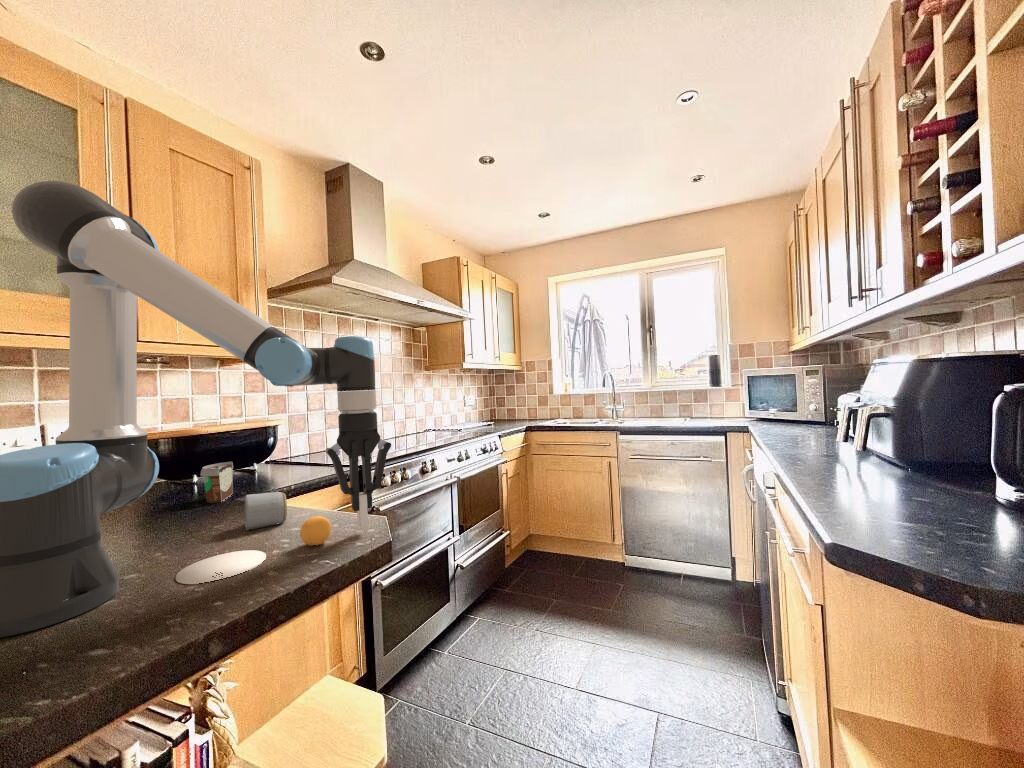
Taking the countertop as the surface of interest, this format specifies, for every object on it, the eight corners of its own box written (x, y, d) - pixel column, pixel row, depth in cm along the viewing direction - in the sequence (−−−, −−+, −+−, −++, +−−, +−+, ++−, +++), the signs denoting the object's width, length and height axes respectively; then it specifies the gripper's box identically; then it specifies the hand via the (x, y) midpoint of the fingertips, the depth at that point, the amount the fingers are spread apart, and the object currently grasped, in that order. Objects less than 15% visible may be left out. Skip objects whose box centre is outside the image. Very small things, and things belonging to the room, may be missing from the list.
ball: (302, 552, 77) (301, 523, 77) (299, 544, 82) (297, 516, 82) (334, 545, 80) (332, 517, 80) (329, 537, 85) (328, 510, 85)
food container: (211, 496, 126) (209, 463, 126) (234, 493, 128) (233, 461, 128) (193, 506, 115) (192, 470, 115) (219, 503, 117) (217, 468, 117)
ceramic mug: (288, 525, 94) (287, 491, 94) (246, 534, 89) (244, 498, 89) (282, 515, 103) (281, 484, 103) (243, 523, 98) (242, 490, 98)
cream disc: (170, 592, 64) (170, 591, 64) (180, 564, 74) (180, 563, 74) (267, 568, 71) (267, 567, 71) (264, 545, 82) (264, 544, 82)
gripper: (384, 409, 92) (389, 514, 92) (320, 413, 85) (326, 527, 85) (394, 409, 86) (399, 522, 86) (326, 414, 79) (332, 538, 79)
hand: (363, 525), depth 86 cm, fingers closed
